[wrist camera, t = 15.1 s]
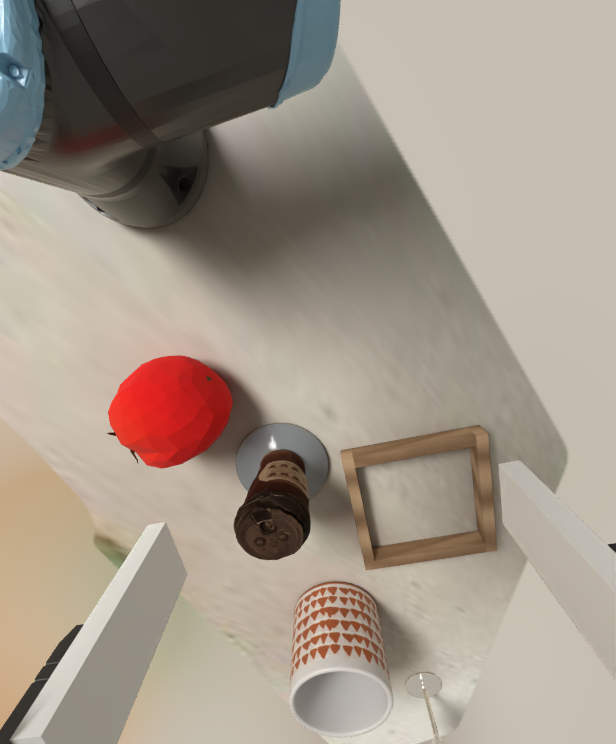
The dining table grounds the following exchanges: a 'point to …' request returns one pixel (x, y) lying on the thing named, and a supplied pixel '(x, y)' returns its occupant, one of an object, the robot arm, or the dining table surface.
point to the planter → (338, 662)
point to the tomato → (170, 410)
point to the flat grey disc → (286, 439)
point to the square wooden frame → (440, 545)
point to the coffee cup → (275, 508)
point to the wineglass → (426, 695)
